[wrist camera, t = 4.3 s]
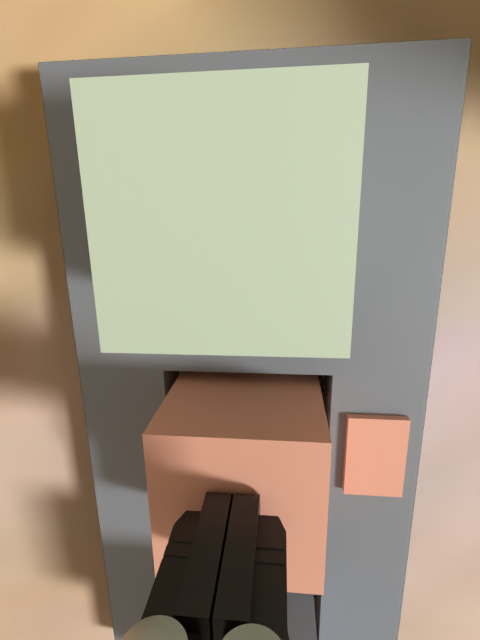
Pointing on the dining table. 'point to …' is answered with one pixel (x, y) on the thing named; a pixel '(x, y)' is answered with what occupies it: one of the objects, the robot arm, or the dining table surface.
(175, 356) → the slate board
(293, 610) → the slate-blue block
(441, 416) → the dining table surface
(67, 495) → the dining table surface
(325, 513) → the terracotta block
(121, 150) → the sage block
